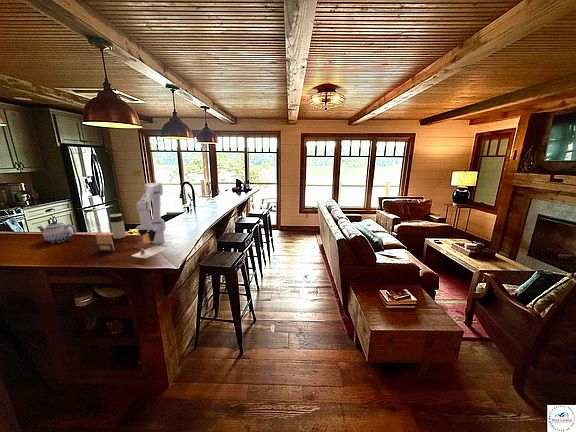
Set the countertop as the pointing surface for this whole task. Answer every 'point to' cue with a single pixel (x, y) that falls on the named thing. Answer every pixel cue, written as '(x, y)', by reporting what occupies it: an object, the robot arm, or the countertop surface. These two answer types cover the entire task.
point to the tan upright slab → (105, 243)
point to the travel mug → (117, 226)
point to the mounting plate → (149, 251)
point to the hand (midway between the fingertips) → (148, 240)
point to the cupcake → (146, 238)
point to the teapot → (57, 232)
